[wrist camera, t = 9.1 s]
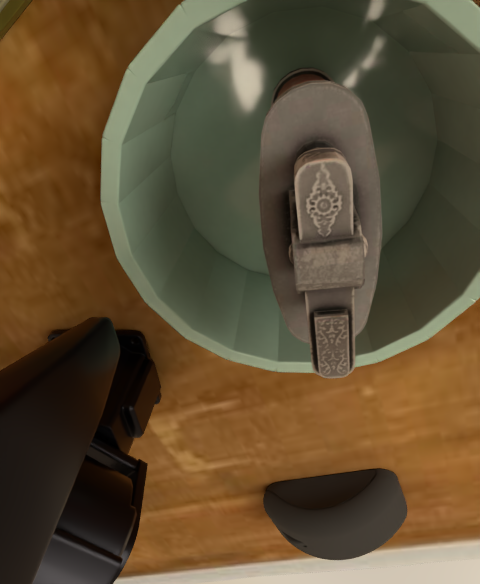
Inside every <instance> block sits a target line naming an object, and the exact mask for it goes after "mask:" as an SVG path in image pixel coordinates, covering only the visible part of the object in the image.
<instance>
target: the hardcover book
mask: <svg viewBox="0 0 480 584" xmlns="http://www.w3.org/2000/svg"><path fill="white" fill-rule="evenodd" d="M31 1H32V0H0V40H1V39H2V37H3V36H4V35H5V34H6V32H7V31H8V30H9V28H10V27H11V26H12V25H13V23H14V22H15V21H16V20H17V18H18V17H19V16H20V15H21V13H22V12H23V11H24V10H25V8H26V7H27V6H28V5H29V3H30V2H31Z"/></svg>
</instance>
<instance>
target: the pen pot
mask: <svg viewBox="0 0 480 584" xmlns="http://www.w3.org/2000/svg"><path fill="white" fill-rule="evenodd" d="M312 67H313V68H316V69H318V70H321V71H324V72H325V73H326V74H327V75H328V76H329V77H331V78H332V79H333V80H334V83H337V84H339V85H342V86H345V87H346V88H348V89H349V90H350V91H351V92H352V93H353V94H354V95H356V96H357V97H358V98H359V99H360V100H361V101H362V103H363V105H364V108H365V110H366V112H367V115H368V117H369V123H370V128H371V134H372V139H373V145H374V150H375V156H376V161H377V166H378V172H379V177H380V197H381V217H382V242H381V251H380V260H379V269H378V278H377V284H376V288H375V292H374V296H373V300H372V304H371V308H370V312H369V315H368V319H367V323H366V325H365V326H364V328H363V330H362V332H360V333H359V334H358V335H357V336H356V337H355V367H359V366H364V365H368V364H373V363H377V362H381V361H383V360H385V359H387V358H389V357H391V356H394V355H396V354H398V353H400V352H402V351H404V350H407V349H409V348H411V347H413V346H415V345H417V344H420V343H422V342H424V341H426V340H428V339H429V338H431V337H432V336H433V335H435V334H436V333H437V332H439V331H440V330H441V329H442V328H444V327H445V326H446V325H447V324H449V323H450V322H451V321H452V320H454V319H455V318H456V317H457V316H459V315H460V314H461V313H462V312H464V311H465V310H466V309H467V308H469V307H470V306H471V305H472V304H474V303H475V302H476V300H478V299H479V297H480V7H479V6H478V5H477V4H476V3H474V2H473V1H472V0H184V1H182V3H181V5H178V6H177V7H176V8H175V9H174V10H173V12H172V13H171V14H170V15H169V17H168V18H167V19H166V20H165V21H164V23H163V24H162V25H161V26H160V27H159V29H158V30H157V31H156V32H155V34H154V35H153V36H152V37H151V38H150V40H149V41H148V42H147V43H146V44H145V46H144V47H143V48H142V49H141V51H140V52H139V53H138V54H137V55H136V57H135V58H134V59H133V60H132V61H131V63H130V64H129V65H128V68H127V69H126V71H125V74H124V77H123V79H122V82H121V85H120V88H119V90H118V93H117V96H116V99H115V101H114V104H113V107H112V110H111V112H110V115H109V118H108V121H107V123H106V126H105V129H104V132H103V137H102V150H101V195H100V200H101V207H102V210H103V214H104V217H105V221H106V224H107V227H108V231H109V234H110V238H111V241H112V244H113V248H114V251H115V255H116V257H117V260H118V261H119V263H120V264H121V266H122V267H123V269H124V271H125V272H126V274H127V275H128V277H129V278H130V280H131V281H132V283H133V285H134V286H135V288H136V289H137V291H138V292H139V294H140V295H141V297H142V298H143V300H144V302H145V303H147V305H148V306H149V307H151V308H152V309H153V310H154V311H155V312H156V313H157V314H158V315H159V316H161V317H162V318H163V319H164V320H165V321H166V322H167V323H168V324H170V325H171V326H172V327H173V328H174V329H175V330H176V331H177V332H179V333H180V334H181V335H182V336H183V337H184V338H186V339H188V340H190V341H191V342H193V343H195V344H197V345H199V346H201V347H203V348H205V349H207V350H209V351H211V352H213V353H215V354H216V355H218V356H220V357H222V358H224V359H226V360H229V361H233V362H237V363H241V364H245V365H249V366H253V367H257V368H261V369H265V370H269V371H273V372H275V371H276V372H297V373H315V372H314V371H313V367H312V362H311V352H310V344H308V343H304V342H302V341H300V340H299V339H297V338H296V337H294V336H293V335H292V334H291V332H290V331H289V330H288V328H287V326H286V323H285V321H284V318H283V315H282V313H281V310H280V308H279V305H278V302H277V300H276V297H275V295H274V292H273V288H272V284H271V280H270V276H269V271H268V267H267V263H266V259H265V255H264V250H263V244H262V231H261V219H260V206H259V174H260V151H261V133H262V129H263V125H264V121H265V117H266V114H267V112H268V111H269V109H270V108H271V100H272V96H273V92H274V89H275V87H276V86H277V84H278V83H279V81H280V80H281V79H282V78H283V77H284V76H285V75H287V74H288V73H289V72H291V71H294V70H296V69H299V68H312Z"/></svg>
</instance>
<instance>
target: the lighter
mask: <svg viewBox="0 0 480 584" xmlns="http://www.w3.org/2000/svg"><path fill="white" fill-rule="evenodd" d="M259 206H260V219H261V231H262V244H263V250H264V255H265V259H266V263H267V267H268V271H269V276H270V280H271V284H272V288H273V292H274V295H275V297H276V300H277V302H278V305H279V308H280V310H281V313H282V315H283V318H284V321H285V323H286V326H287V328H288V330H289V331H290V332H291V334H292V335H293V336H294V337H296V338H297V339H299V340H300V341H302V342H304V343H308V344H310V352H311V362H312V367H313V371H314V372H315V373H316V374H317V375H320V376H322V377H324V378H341V377H345V376H347V375H348V374H349V373H351V372H352V371H353V369H354V367H355V337H356V336H357V335H358V334H359V333H360V332H362V330H363V328H364V326H365V325H366V323H367V319H368V315H369V312H370V308H371V304H372V300H373V296H374V292H375V288H376V284H377V278H378V269H379V260H380V251H381V242H382V217H381V197H380V177H379V172H378V166H377V161H376V156H375V150H374V145H373V139H372V134H371V128H370V123H369V117H368V115H367V112H366V110H365V108H364V105H363V103H362V101H361V100H360V99H359V98H358V97H357V96H356V95H354V94H353V93H352V92H351V91H350V90H349V89H348V88H346V87H345V86H342V85H339V84H337V83H334V80H333V79H332V78H331V77H329V76H328V75H327V74H326V73H325V72H324V71H321V70H318V69H316V68H313V67H312V68H299V69H296V70H294V71H291V72H289V73H288V74H287V75H285V76H284V77H283V78H282V79H281V80H280V81H279V83H278V84H277V86H276V87H275V89H274V92H273V96H272V100H271V108H270V109H269V111H268V112H267V114H266V117H265V121H264V125H263V129H262V133H261V151H260V174H259Z"/></svg>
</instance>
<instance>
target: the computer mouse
mask: <svg viewBox="0 0 480 584" xmlns="http://www.w3.org/2000/svg"><path fill="white" fill-rule="evenodd" d="M263 504H264V508H265V511H266V513H267V514H268V515H269V517H270V518H271V520H272V521H273V523H274V524H275V525H276V527H277V528H278V530H279V531H280V532H281V534H282V535H283V536H284V537H285V538H286V539H287V540H288V541H289V542H290V543H291V544H292V545H294V546H295V547H296V548H298V549H299V550H301V551H303V552H305V553H307V554H309V555H312V556H314V557H318V558H322V559H328V560H345V559H352V558H356V557H359V556H362V555H365V554H367V553H370V552H372V551H373V550H375V549H377V548H378V547H380V546H381V545H383V544H384V543H385V542H387V541H388V540H389V539H390V538H391V537H392V536H393V535H394V534H395V533H396V532H397V530H398V529H399V528H400V526H401V525H402V523H403V522H404V520H405V518H406V516H407V505H406V501H405V498H404V495H403V492H402V490H401V487H400V484H399V481H398V478H397V476H396V475H395V474H394V473H393V472H391V471H389V470H385V469H376V470H374V469H372V470H365V471H357V472H350V473H343V474H335V475H328V476H320V477H313V478H305V479H298V480H291V481H283V482H277V483H274V484H271V485H270V486H269V487H268V488H267V490H266V492H265V494H264V498H263Z"/></svg>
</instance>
